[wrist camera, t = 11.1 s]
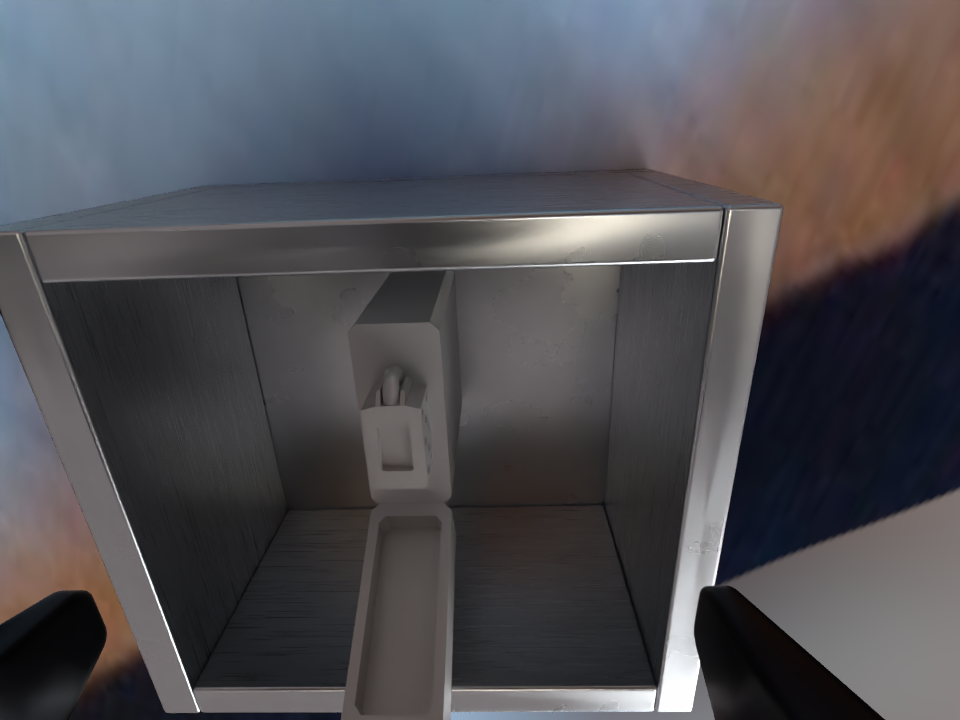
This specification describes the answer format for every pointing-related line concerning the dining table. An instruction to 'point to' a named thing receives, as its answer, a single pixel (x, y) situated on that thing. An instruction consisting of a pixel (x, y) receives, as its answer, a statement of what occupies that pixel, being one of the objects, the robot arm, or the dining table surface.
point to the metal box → (337, 430)
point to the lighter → (407, 498)
